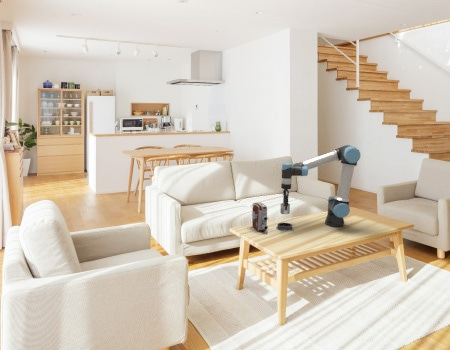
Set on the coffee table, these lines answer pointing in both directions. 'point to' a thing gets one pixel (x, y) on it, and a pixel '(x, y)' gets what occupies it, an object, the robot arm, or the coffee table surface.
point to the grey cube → (283, 208)
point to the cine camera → (259, 217)
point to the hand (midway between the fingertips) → (285, 212)
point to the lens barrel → (284, 227)
